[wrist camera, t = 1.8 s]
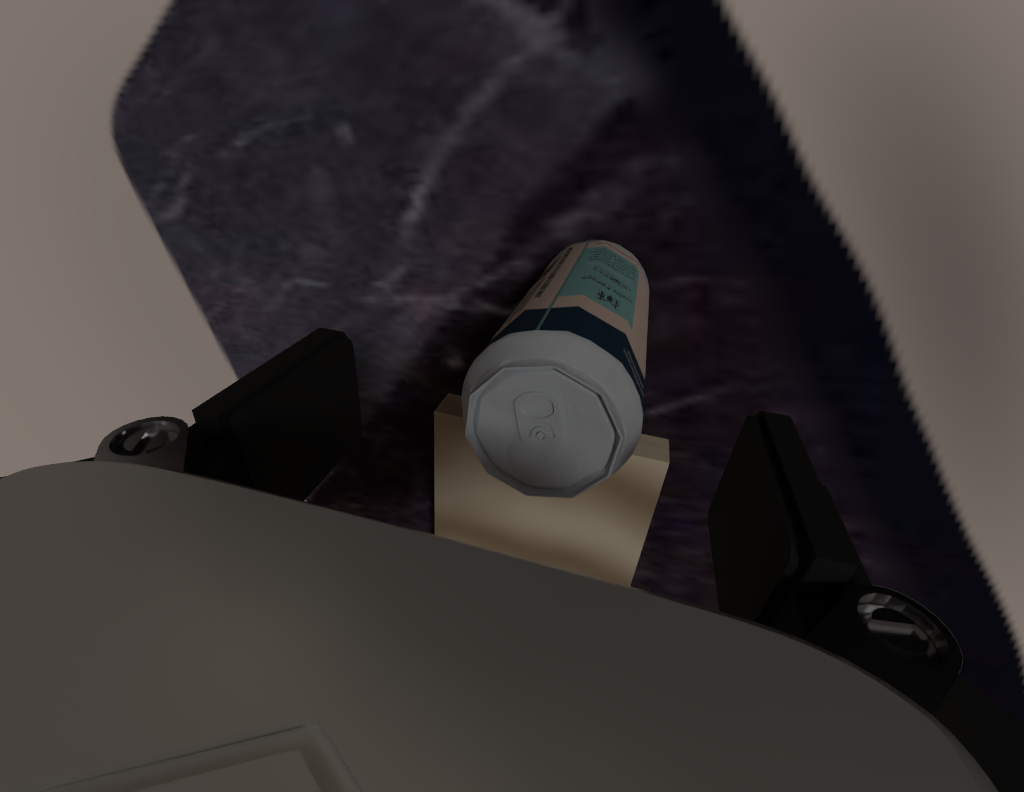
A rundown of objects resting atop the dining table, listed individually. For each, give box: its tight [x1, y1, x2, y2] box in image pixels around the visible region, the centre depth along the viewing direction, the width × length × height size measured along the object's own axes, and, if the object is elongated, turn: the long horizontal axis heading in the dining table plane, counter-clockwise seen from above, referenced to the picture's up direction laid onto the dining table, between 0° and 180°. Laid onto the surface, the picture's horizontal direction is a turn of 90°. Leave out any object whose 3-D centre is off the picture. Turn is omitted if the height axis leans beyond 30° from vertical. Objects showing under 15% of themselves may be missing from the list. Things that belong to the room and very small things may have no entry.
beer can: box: [461, 240, 649, 498], centre depth 17 cm, size 5×5×12 cm
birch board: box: [434, 393, 669, 586], centre depth 29 cm, size 18×12×2 cm, turn 177°
